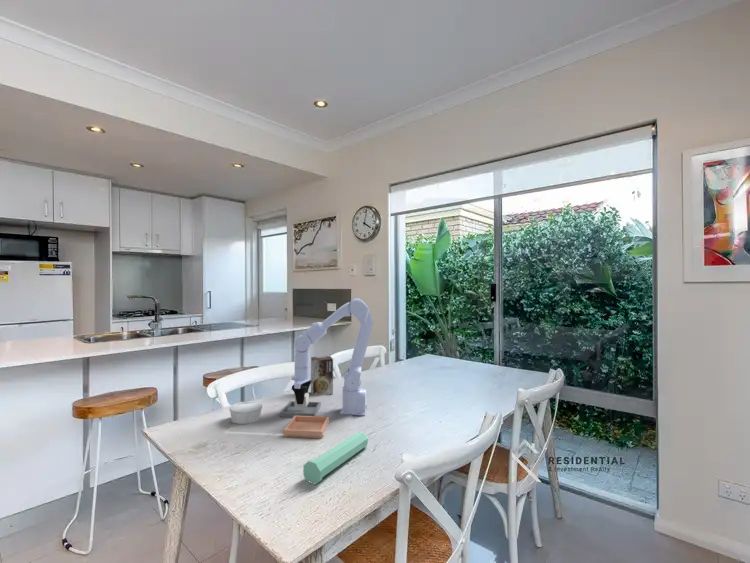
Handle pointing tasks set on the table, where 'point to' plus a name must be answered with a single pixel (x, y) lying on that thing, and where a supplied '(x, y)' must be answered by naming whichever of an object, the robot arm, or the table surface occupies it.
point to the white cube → (305, 403)
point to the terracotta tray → (306, 427)
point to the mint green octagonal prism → (334, 457)
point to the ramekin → (245, 412)
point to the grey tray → (300, 409)
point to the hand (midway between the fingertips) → (301, 401)
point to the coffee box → (322, 375)
